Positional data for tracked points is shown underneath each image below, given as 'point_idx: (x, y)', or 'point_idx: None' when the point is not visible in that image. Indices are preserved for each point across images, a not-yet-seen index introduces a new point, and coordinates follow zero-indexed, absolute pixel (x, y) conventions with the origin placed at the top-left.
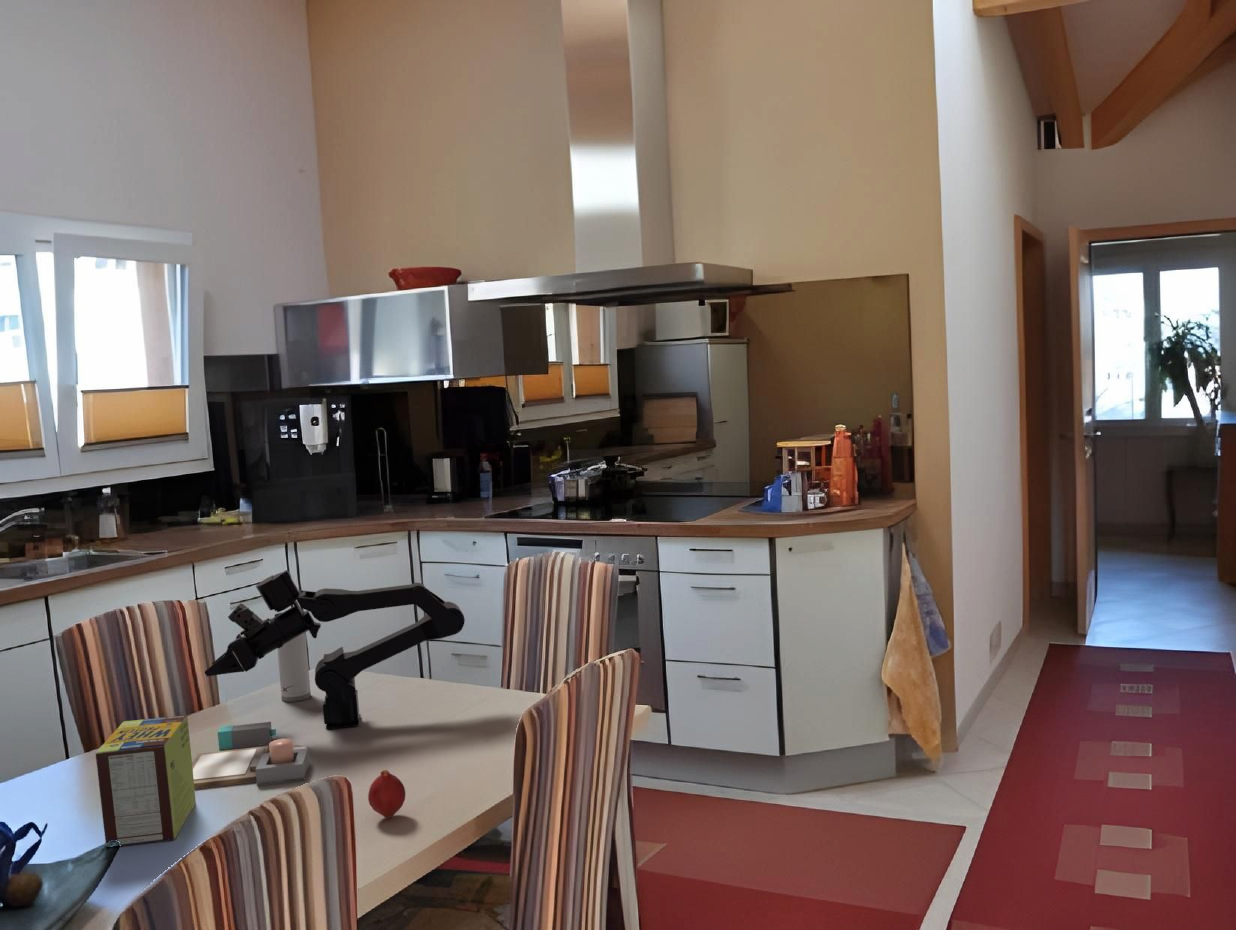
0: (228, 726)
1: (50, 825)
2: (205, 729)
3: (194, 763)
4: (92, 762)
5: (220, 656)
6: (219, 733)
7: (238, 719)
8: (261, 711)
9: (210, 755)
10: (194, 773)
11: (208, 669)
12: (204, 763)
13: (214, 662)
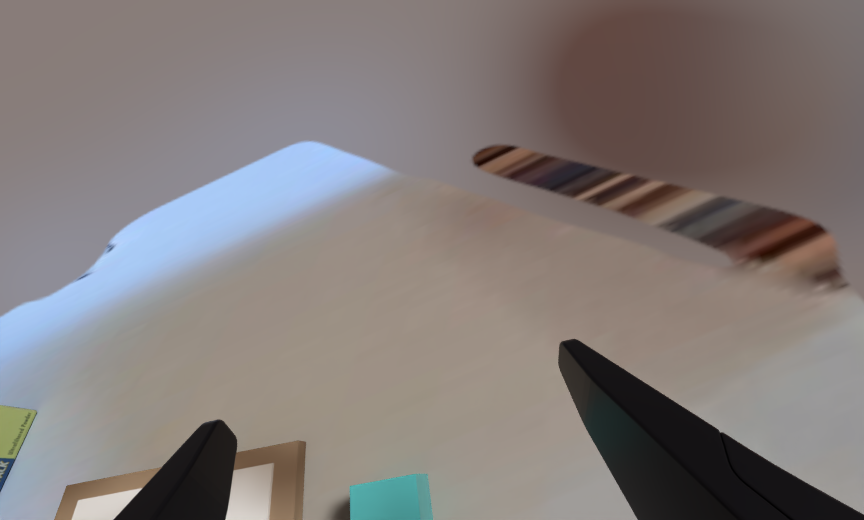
0: (407, 512)
1: (74, 284)
2: None
3: None
4: (364, 200)
5: (619, 396)
6: (352, 493)
7: None
8: None
9: (253, 501)
10: (118, 506)
11: (173, 460)
12: None
13: (569, 357)
